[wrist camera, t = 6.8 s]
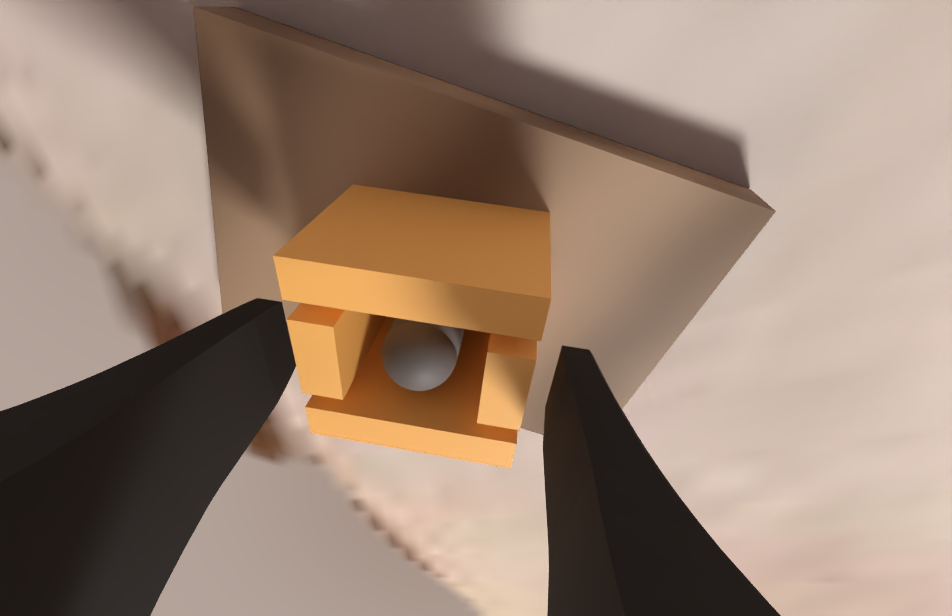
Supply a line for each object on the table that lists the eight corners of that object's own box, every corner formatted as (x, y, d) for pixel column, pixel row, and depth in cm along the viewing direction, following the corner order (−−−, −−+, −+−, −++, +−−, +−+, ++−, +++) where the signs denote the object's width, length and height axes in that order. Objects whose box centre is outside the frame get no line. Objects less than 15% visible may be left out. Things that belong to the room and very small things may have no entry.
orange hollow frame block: (549, 212, 11) (551, 298, 8) (518, 361, 14) (510, 468, 11) (352, 184, 11) (272, 255, 8) (365, 336, 14) (310, 433, 11)
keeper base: (750, 189, 11) (881, 303, 7) (587, 418, 17) (601, 558, 13) (234, 7, 10) (9, 3, 6) (248, 312, 16) (138, 422, 12)
